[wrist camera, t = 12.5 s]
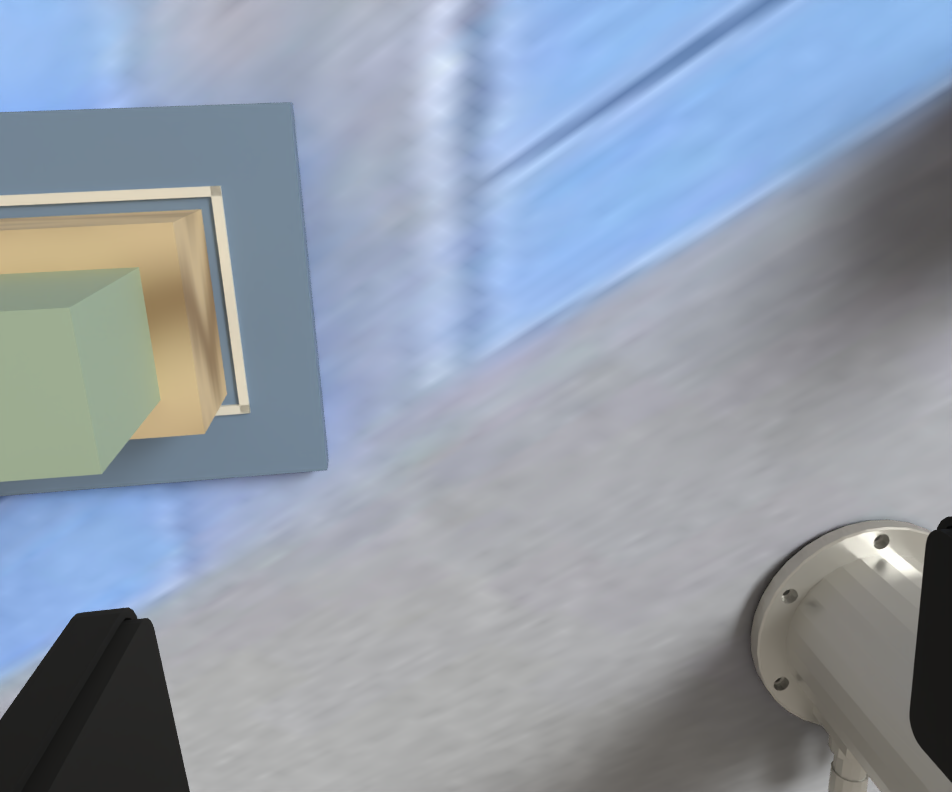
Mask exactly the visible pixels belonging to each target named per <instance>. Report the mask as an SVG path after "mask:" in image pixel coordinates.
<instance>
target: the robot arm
mask: <svg viewBox="0 0 952 792" xmlns="http://www.w3.org/2000/svg"><path fill="white" fill-rule="evenodd" d="M751 653H752V657H753V661H754V665H755V669H756V671H757V673H758V675H759V677H760V679H761V680H762V682H763V684H764V686H765V687H766V688H767V690H768V691H769V692H770V694H771V695H772V696H773V698H774V699H775V700H776V701H777V702H778V703H779V704H780V705H781V706H782V707H784V708H785V709H786V710H787V711H788V712H790V713H792V714H793V715H795V716H797V717H799V718H801V719H803V720H805V721H809V722H812V723H815V724H819V725H822V726H823V727H824V729H825V730H826V731H827V733H828V734H829V741H828V745H829V747H830V749H831V751H832V752H833V753H834V760H833V762H832V763H831V770H830V778H829V786H828V792H867V785H868V778H869V777H870V778H871V780H872V781H873V782H874V784H875V785H876V786H877V788H878V789H879V790H880V791H881V792H952V517H946V518H945V519H943V520H942V521H941V522H940V524H939V525H938V527H937V530H934V531H932V532H930V531H929V530H927V529H925V528H922V527H919V526H917V525H914V524H911V523H908V522H901V521H894V520H875V521H865V522H860V523H856V524H852V525H847V526H844V527H842V528H839V529H837V530H834V531H832V532H829V533H827V534H825V535H823V536H821V537H820V538H818V539H816V540H815V541H813V542H811V543H810V544H808V545H806V546H805V547H804V548H803V549H801V550H800V551H799V552H798V553H797V554H795V555H794V556H793V557H792V558H791V559H789V560H788V561H787V562H786V564H785V565H784V566H783V567H782V568H781V569H780V570H779V572H778V573H777V574H776V575H775V576H774V577H773V579H772V580H771V582H770V584H769V585H768V587H767V589H766V590H765V592H764V593H763V595H762V597H761V600H760V602H759V605H758V607H757V610H756V612H755V615H754V620H753V625H752V630H751ZM0 792H190V791H189V786H188V781H187V777H186V772H185V768H184V763H183V758H182V754H181V749H180V745H179V740H178V736H177V731H176V726H175V722H174V717H173V713H172V708H171V703H170V699H169V694H168V690H167V685H166V681H165V676H164V671H163V667H162V662H161V658H160V653H159V649H158V644H157V639H156V635H155V630H154V627H153V624H152V622H151V621H150V620H149V619H148V618H144V619H137V616H136V614H135V613H134V611H133V610H132V609H130V608H120V609H110V610H101V611H92V612H83V613H78V614H76V615H75V616H74V617H73V618H72V619H71V620H70V622H69V623H68V625H67V626H66V627H65V629H64V630H63V632H62V633H61V635H60V636H59V637H58V639H57V640H56V642H55V643H54V644H53V646H52V647H51V649H50V650H49V652H48V653H47V654H46V656H45V657H44V659H43V660H42V661H41V663H40V664H39V666H38V667H37V669H36V670H35V671H34V673H33V674H32V676H31V677H30V679H29V680H28V681H27V683H26V684H25V686H24V687H23V688H22V690H21V691H20V693H19V694H18V696H17V697H16V698H15V700H14V701H13V703H12V704H11V705H10V707H9V708H8V710H7V711H6V713H5V714H4V715H3V717H2V718H1V720H0Z"/></svg>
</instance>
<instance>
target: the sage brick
mask: <svg viewBox="0 0 952 792" xmlns="http://www.w3.org/2000/svg"><path fill="white" fill-rule="evenodd" d="M160 400H161V399H160V393H159V387H158V380H157V374H156V368H155V362H154V356H153V350H152V344H151V338H150V332H149V326H148V319H147V313H146V307H145V301H144V295H143V289H142V283H141V277H140V271H139V267H132V268H113V269H93V270H74V271H54V272H34V273H15V274H0V482H4V481H17V480H30V479H44V478H57V477H70V476H83V475H97V474H102V473H103V472H104V471H105V470H106V468H107V467H108V466H109V464H110V463H111V462H112V461H113V459H114V458H115V457H116V456H117V454H118V453H119V452H120V451H121V449H122V448H123V447H124V446H125V444H126V443H127V442H128V441H129V439H130V438H131V437H132V435H133V434H134V433H135V432H136V430H137V429H138V428H139V427H140V425H141V424H142V423H143V422H144V420H145V419H146V418H147V417H148V415H149V414H150V413H151V411H152V410H153V409H154V408H155V406H156V405H157V404H158V403H159V401H160Z"/></svg>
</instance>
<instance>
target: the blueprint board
mask: <svg viewBox="0 0 952 792" xmlns="http://www.w3.org/2000/svg"><path fill="white" fill-rule="evenodd" d="M195 209H201V210H202V217H203V224H204V232H205V239H206V246H207V253H208V260H209V268H210V275H211V282H212V289H213V296H214V303H215V311H216V318H217V325H218V332H219V339H220V347H221V354H222V361H223V368H224V375H225V382H226V390H227V395H226V397H225V399H224V401H223V402H222V404H221V406H220V408H219V410H218V411H217V413H216V415H215V417H214V418H213V420H212V422H211V424H210V426H209V427H208V429H207V431H206V433H205V434H198V435H185V436H171V437H158V438H144V439H130V440H129V441H128V442H127V443H126V444H125V446H124V447H123V448H122V449H121V451H120V452H119V453H118V454H117V456H116V457H115V458H114V459H113V461H112V462H111V463H110V464H109V466H108V467H107V468H106V470H105V471H104V472H103V473H102V474H97V475H83V476H70V477H57V478H44V479H30V480H17V481H4V482H0V496H7V495H20V494H32V493H45V492H58V491H70V490H83V489H96V488H108V487H121V486H133V485H146V484H159V483H171V482H184V481H197V480H209V479H222V478H234V477H247V476H260V475H272V474H285V473H298V472H310V471H323V470H327V468H328V450H327V440H326V430H325V420H324V410H323V400H322V390H321V380H320V371H319V361H318V351H317V341H316V331H315V321H314V311H313V301H312V291H311V281H310V271H309V261H308V251H307V241H306V232H305V222H304V212H303V202H302V192H301V182H300V172H299V162H298V152H297V142H296V132H295V122H294V112H293V103H290V102H286V103H257V104H228V105H199V106H170V107H141V108H112V109H83V110H54V111H25V112H0V219H3V218H24V217H45V216H67V215H88V214H109V213H131V212H152V211H174V210H195Z"/></svg>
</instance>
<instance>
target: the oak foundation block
mask: <svg viewBox="0 0 952 792" xmlns="http://www.w3.org/2000/svg"><path fill="white" fill-rule="evenodd" d="M132 267H139V271H140V277H141V283H142V289H143V295H144V301H145V307H146V313H147V319H148V326H149V332H150V338H151V344H152V350H153V356H154V362H155V368H156V374H157V380H158V387H159V393H160V399H161V400H160V401H159V403H158V404H157V405H156V406H155V408H154V409H153V410H152V411H151V413H150V414H149V415H148V417H147V418H146V419H145V420H144V422H143V423H142V424H141V425H140V427H139V428H138V429H137V430H136V432H135V433H134V434H133V435H132V437H131V438H130V439H144V438H158V437H171V436H185V435H198V434H205V433H206V431H207V429H208V427H209V426H210V424H211V422H212V420H213V418H214V417H215V415H216V413H217V411H218V410H219V408H220V406H221V404H222V402H223V401H224V399H225V397H226V395H227V390H226V382H225V375H224V368H223V361H222V354H221V347H220V339H219V332H218V325H217V318H216V311H215V303H214V296H213V289H212V282H211V275H210V268H209V260H208V253H207V246H206V239H205V232H204V224H203V217H202V210H201V209H195V210H174V211H152V212H131V213H109V214H88V215H67V216H45V217H24V218H3V219H0V274H15V273H34V272H54V271H74V270H93V269H113V268H132ZM130 439H129V440H130Z"/></svg>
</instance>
